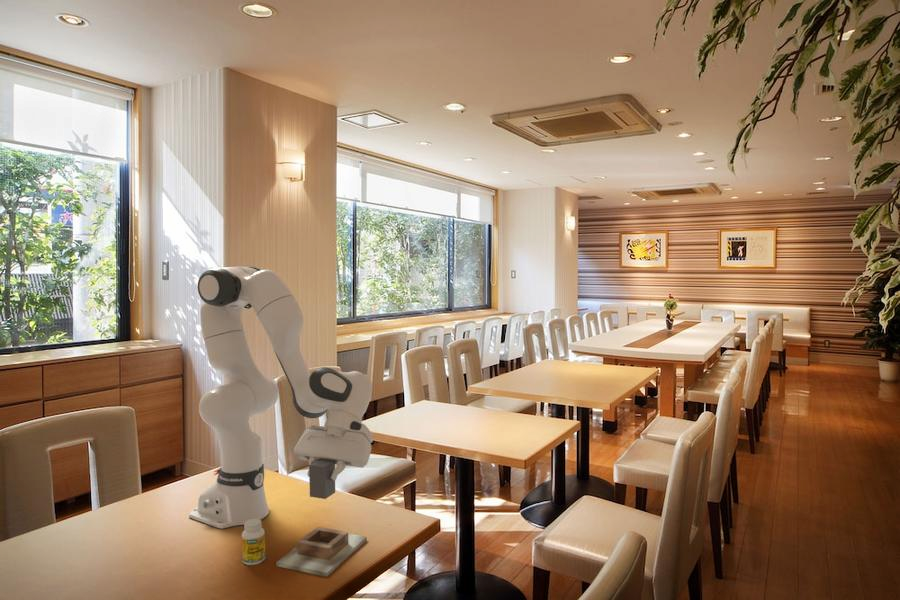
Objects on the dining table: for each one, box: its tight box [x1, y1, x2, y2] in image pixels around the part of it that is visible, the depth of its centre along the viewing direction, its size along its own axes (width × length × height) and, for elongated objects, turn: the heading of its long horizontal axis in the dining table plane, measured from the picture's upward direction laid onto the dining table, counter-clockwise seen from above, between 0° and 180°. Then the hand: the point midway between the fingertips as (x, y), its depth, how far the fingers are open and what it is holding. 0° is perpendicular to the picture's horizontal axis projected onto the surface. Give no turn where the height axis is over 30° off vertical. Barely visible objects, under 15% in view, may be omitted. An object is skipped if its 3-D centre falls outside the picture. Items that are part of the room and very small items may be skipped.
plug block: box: [308, 459, 336, 500], centre depth 144 cm, size 4×4×8 cm
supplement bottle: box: [241, 519, 266, 566], centre depth 141 cm, size 5×5×10 cm
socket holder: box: [275, 526, 367, 578], centre depth 145 cm, size 14×19×4 cm
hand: (320, 478), depth 144 cm, fingers closed on plug block, 4 cm apart
